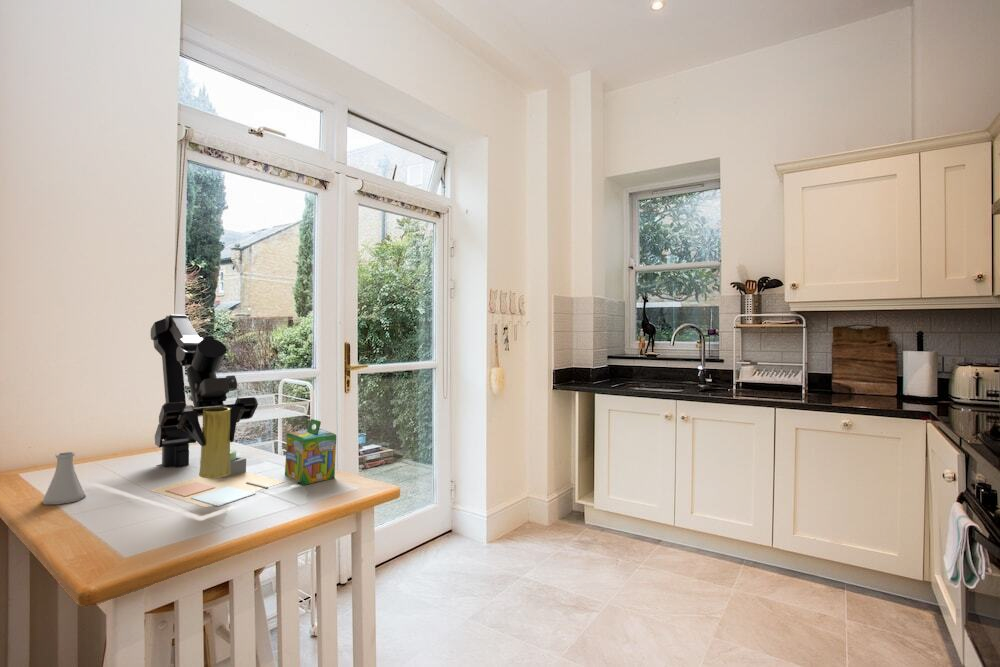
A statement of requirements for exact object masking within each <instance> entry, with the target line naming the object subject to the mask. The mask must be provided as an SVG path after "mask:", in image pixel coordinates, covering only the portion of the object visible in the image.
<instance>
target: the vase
mask: <svg viewBox="0 0 1000 667" xmlns="http://www.w3.org/2000/svg"><path fill="white" fill-rule="evenodd" d="M202 433H203V436H204V442H205V444H204V446H201V445H200V460H199V461H200V462H199V473H198V477H202V478H219V477H223V476H226V475H229V474H230V473H231V469H230V450H231V442H230V408H226V407H214V408H207V409H204V410H203V416H202Z"/></svg>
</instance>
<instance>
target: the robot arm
mask: <svg viewBox="0 0 1000 667" xmlns="http://www.w3.org/2000/svg"><path fill="white" fill-rule="evenodd" d="M150 340H152V341H153V348H154V349H155V351H156V352H158V354H159V355H160V356H161V360H162V372H163V374H162V376H163V384H164V386H163V387H164V388H163V389H164V397H165V398H164V399H165V402H164V404H162V406H161V409H160V413H159V416H158V425H157V428H156V431H155V434H154V444H155V446H156V447H158V448H161V464H157V465H155V467H158V466H159V467H160V466H162V467H164V468H182V467H187V466H189V465H190V444H196V443H198V444H199V446H200V447H201V446H204V444H205V442H204V436H203V433H202V431H203V429H202V428H201V424H200V421H199V417H203V410H204V409H207V408H214V407H226V408H230V443H233V442H234V441H235V435H236V434H235V433H236V429H237V428H236V426H237V424H238V423H239V422H240V421H241V420H249V419H251V418H253V416H254V414H255V412H256V410H257V407H258V406H259V402H258V400H257V399H258V398H256V397H255V396H241V397H236V400H235V402H234V403H231V404H229V403H228V404H224V402H226V401H227V399H228V398H227V394H228V393H230V392H234V391H236V389H237V388H238V381H237V378H236V375H226V377H217V374H216V372H217V371H219V370H220V368H221V366H222V363H223V360H224V358H225V355H226V352H227V346H226V345H225V344H224V343H223V342H222V341H220V340H218V339H215V337H214V335H203V337H200V336H199V334H198V332H197V331H196V329H195V327H194V326H193V325H192V323H191V318H190V316H189V315H186V314H169V315H167V314H166V316H165V318H162V319H160V320H157V321H155V322H153V324H152V326H151V328H150ZM184 367H188V368H187V369H186V376H187V383H188V385H189V386H188V387H189V391H190V394H191V395H190V400H191V402H192V404H193V405H192V404H191V405H190V404H189V405H187V402H186V401H187V399H186V390H185V380H184V379H185V377H184Z"/></svg>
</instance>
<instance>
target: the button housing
mask: <svg viewBox="0 0 1000 667" xmlns="http://www.w3.org/2000/svg"><path fill="white" fill-rule="evenodd" d="M230 469H231V473H230V474H229V475H226V476H223V477H221V478H227V477H231V476H234V475H238V474H241V473H245V472H247V458H245V457H241V456H238V455H236V460H235V461H231V462H230Z"/></svg>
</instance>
